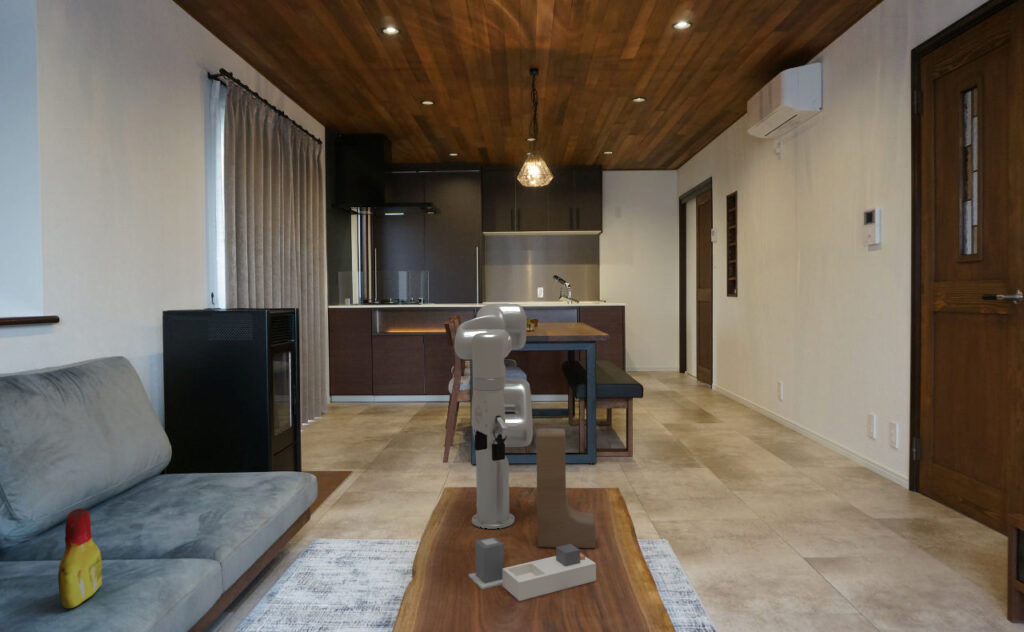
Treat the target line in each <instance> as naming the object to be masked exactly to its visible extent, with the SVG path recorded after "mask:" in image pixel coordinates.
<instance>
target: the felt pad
mask: <svg viewBox="0 0 1024 632" xmlns="http://www.w3.org/2000/svg"><path fill="white" fill-rule="evenodd" d="M468 577H469V579H470V580H471V581H473V582H474V584H476V586H478V587H479V589H481V590H485V589H489V588H493V587H496V586H497V587H498V586H503V581H502V580H497V581H493V582H489V583H485V584H484V583H483V582H482V581H481V580H480V579H479V578H478V577H477V576H476V572H472V573H469V574H468Z"/></svg>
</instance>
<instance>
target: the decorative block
mask: <svg viewBox="0 0 1024 632" xmlns="http://www.w3.org/2000/svg"><path fill="white" fill-rule="evenodd" d="M535 439H536V441H535V442H536V506H537V507H536V513H537V514H536V515H537V516H536V518H537V522H536V523H537V526H536V527H537V547H539V548H555V549H556V547H559V546H563V545H568V544H571V545H573V546H575V547H576V548H578V549H594V548H595V547H596V524H595V517H594V514H592V513H590V512H584V511H578V510H576V509H575V508H573V507H572V506H571V505H570V502H569V500H568V497H567V491H566V490H567V488H566V487H567V484H566V483H567V478H566V476H567V475H566V474H567V473H566V470H567V469H566V430H565V428H553V427H551V428H549V427H548V428H543V427H542V428H537V430H536V438H535Z"/></svg>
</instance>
